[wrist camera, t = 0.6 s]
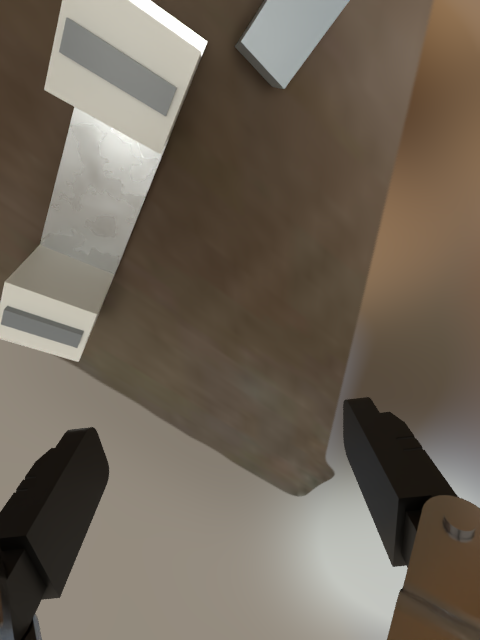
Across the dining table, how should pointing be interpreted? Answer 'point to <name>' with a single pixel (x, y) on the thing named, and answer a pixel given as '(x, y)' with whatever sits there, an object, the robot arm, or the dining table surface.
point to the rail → (103, 180)
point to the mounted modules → (117, 112)
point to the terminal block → (286, 36)
